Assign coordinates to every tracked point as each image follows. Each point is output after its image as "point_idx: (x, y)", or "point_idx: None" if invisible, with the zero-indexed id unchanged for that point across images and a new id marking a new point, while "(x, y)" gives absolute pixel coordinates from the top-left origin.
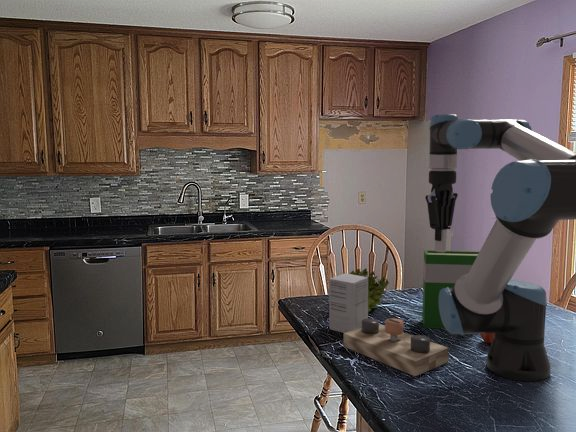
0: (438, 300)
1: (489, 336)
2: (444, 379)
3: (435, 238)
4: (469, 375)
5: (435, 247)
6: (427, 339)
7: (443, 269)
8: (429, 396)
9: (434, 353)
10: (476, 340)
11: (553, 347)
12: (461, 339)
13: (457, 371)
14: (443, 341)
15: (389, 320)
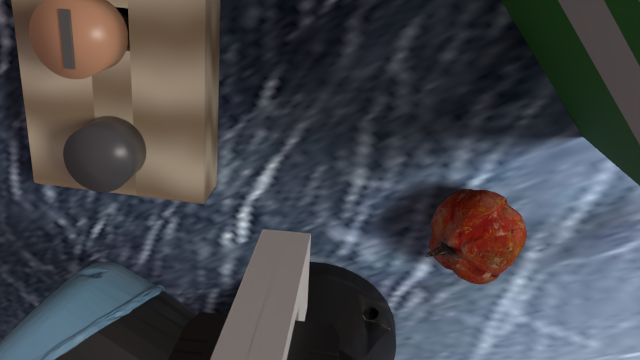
0: (52, 293)
1: (431, 237)
2: (111, 227)
3: (183, 335)
4: (184, 261)
5: (255, 254)
6: (109, 182)
7: (616, 48)
8: (8, 242)
9: (128, 193)
10: (457, 168)
11: (551, 351)
12: (431, 125)
13: (181, 229)
14: (366, 87)
15: (58, 16)
